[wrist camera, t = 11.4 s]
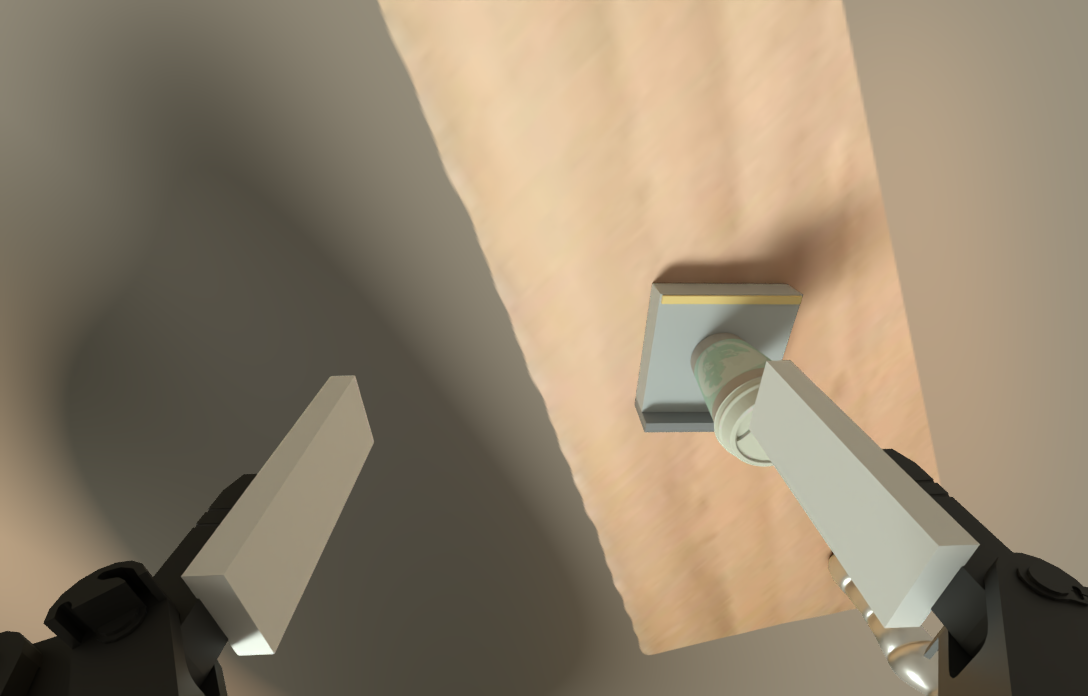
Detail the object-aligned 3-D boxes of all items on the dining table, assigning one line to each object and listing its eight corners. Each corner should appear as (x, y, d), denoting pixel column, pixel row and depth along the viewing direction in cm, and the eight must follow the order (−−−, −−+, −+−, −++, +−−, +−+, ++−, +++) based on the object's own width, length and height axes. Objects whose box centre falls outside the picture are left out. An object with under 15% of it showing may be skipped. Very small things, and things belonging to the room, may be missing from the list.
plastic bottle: (861, 566, 67) (978, 724, 50) (817, 570, 68) (919, 730, 50) (871, 539, 64) (1000, 698, 47) (825, 544, 64) (937, 704, 47)
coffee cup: (751, 306, 42) (827, 371, 31) (765, 374, 46) (837, 451, 35) (667, 338, 43) (712, 410, 33) (687, 401, 47) (734, 484, 37)
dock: (652, 283, 43) (666, 302, 39) (786, 283, 44) (815, 302, 40) (634, 404, 51) (644, 432, 46) (750, 404, 51) (770, 431, 47)
